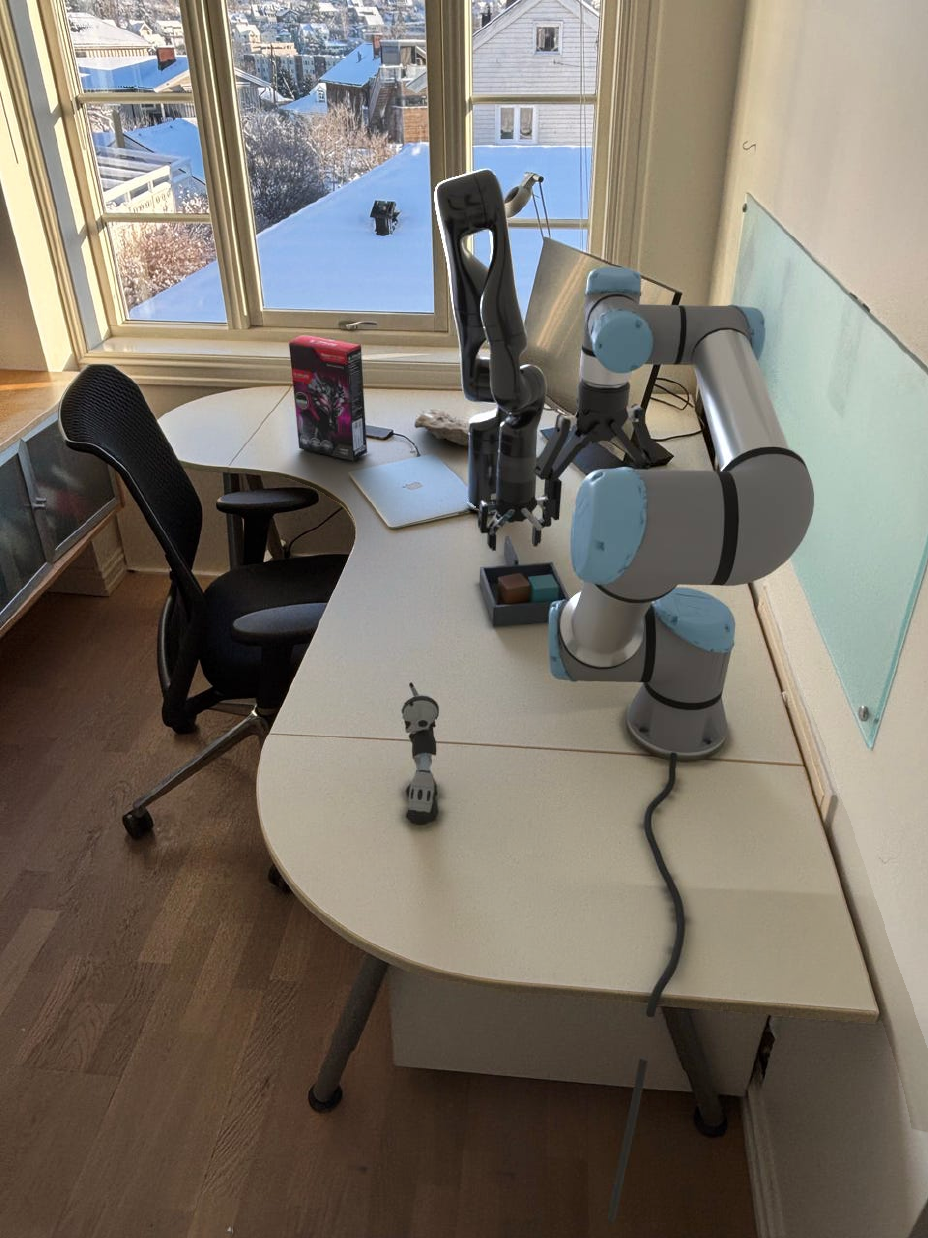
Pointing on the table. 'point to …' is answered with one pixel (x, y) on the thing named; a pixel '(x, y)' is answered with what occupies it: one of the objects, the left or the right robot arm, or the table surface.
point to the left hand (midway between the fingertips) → (513, 546)
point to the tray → (517, 611)
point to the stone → (444, 426)
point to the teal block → (543, 588)
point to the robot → (421, 756)
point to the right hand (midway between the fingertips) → (592, 510)
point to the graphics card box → (329, 396)
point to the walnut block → (513, 590)
